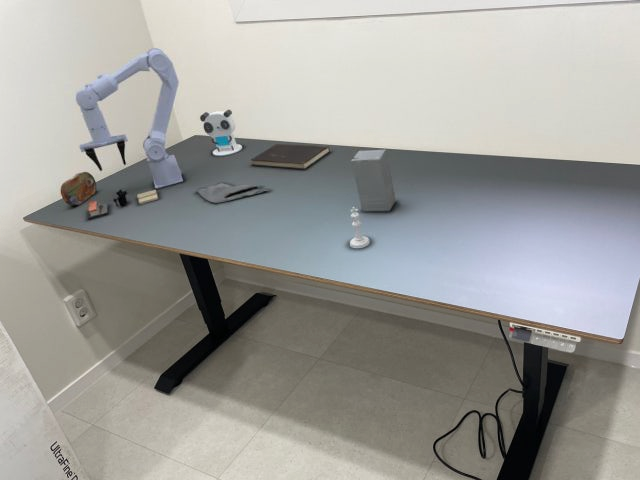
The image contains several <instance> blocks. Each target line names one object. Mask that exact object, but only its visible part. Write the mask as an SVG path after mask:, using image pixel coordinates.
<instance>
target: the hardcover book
mask: <svg viewBox="0 0 640 480" xmlns="http://www.w3.org/2000/svg"><path fill="white" fill-rule="evenodd" d="M330 151H331V150H330V147H329V146H325V145H307V144H289V143H288V144H287V143H275V144H274V145H272V146H270V147H269V148H267V149H265V150H264V151H262V152H260V153H259V154H257V155H256V156H254V157H253V158H251V159H250V161H252V164H251V166H252V167H253V166H254V167H265V168H266V167H267V168H278V169H290V170H291V169H292V170H303V171H306V170H307V169H308V168H309V167H311V166H312V165H314V164H315V163H317V162H319V161H320V160H321V159H322V158H324V157H325V156H327V155H328V154H330Z"/></svg>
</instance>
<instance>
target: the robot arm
mask: <svg viewBox="0 0 640 480" xmlns="http://www.w3.org/2000/svg"><path fill="white" fill-rule="evenodd" d="M151 70H152V71H154V73H156V74H157V76H158V77H159V79H160V81H161V86H160V91H159V94H158V98H157V102H156V107H155V111H154V115H153V120H152V123H151V126H150V129H149V132H148V135H147V136H146V138H145V139H144V140H143V141H142V142H143V143H142V147H143V150H144V151H145V155H146V157H147V158H146V162H147V164H148V167H149V170H150V172H151V175H152V178H153V184H154V188H155V190H157V189H161V188H164V187H168V186H172V185H175V184H179V183H182V182H184V180H183V176H182V174H183V173H182V171H181V169H180V168H179V164H178V162H177V159H176V157H175V156H176V155H175V154H168V153H167V151H166V147H165V145H166V138H167V137H166V135H167V131H168V127H169V122H170V119H171V115H172V111H173V107H174V103H175V98H176V96H177V92H178V87H179V78H178V75H177V72H176V70H175V67H174V63H173V62H172V60H171V59H170V58H169V56H168V55H167V54H166V53H165V52H164V51H163V50H162V49H160V48H158V47H152V48H149V50H147V51H144V52H142V53H140V54H139V55H137V56H135V57H134V58H132V59H131V60H130V61H129V62H127V63H125V65H122V67H120V68H119V69H117V70H116V71H114V72H113V73H112V74H108V73H104V74H101V73H99V74H98V75H96V77H97V78H96V79H95V80H93V81H92V82H90V83H86V84H84V87H81V88H79V89H78V90H77V91H76V93H75V101H76V104H77V105H78V106H79V107H80V112H81V113H82V117H83V120H84V122H85V125H86V128H87V130H88V133H89V135H90V137H91V141H89V142H85V143H82V144H79V146H78V147H79V150H80V152H81V153H85V155H86V156H87V157H88V158H89V159H90V160H91V161H92V162H93V163H94V164H95V166H96V167H97V168H98V169H99V171H100V172H102V171H103V167H102V164H101V163H100V161H99V158H98V156H97V154H96V151H95V149H99V148H103V147H107V146H112V145H115V144H116V147H117V149H118V151H119V155H120V157H121V161H122V163H123V166H126V165H127V162H126V156H125V155H126V154H125V151H126V143H127V142H128V137H127V135H126V134H119V135H113V136H112V135H111V132H110V130H109V128H108V124H107V122H106V119H105V117H104V114H103V112H102V110H101V108H100V107H99V104H98V102H102V101H103V100H105V99H106V98H108V97H109V96H111V95H113V94H114V93H116V92H117V91H118V89H119V84H121V83H122V82H124V81H126V80H127V79H129V78H131V77H133V76H134V75H136V74H137V73H139V72H151Z"/></svg>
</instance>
